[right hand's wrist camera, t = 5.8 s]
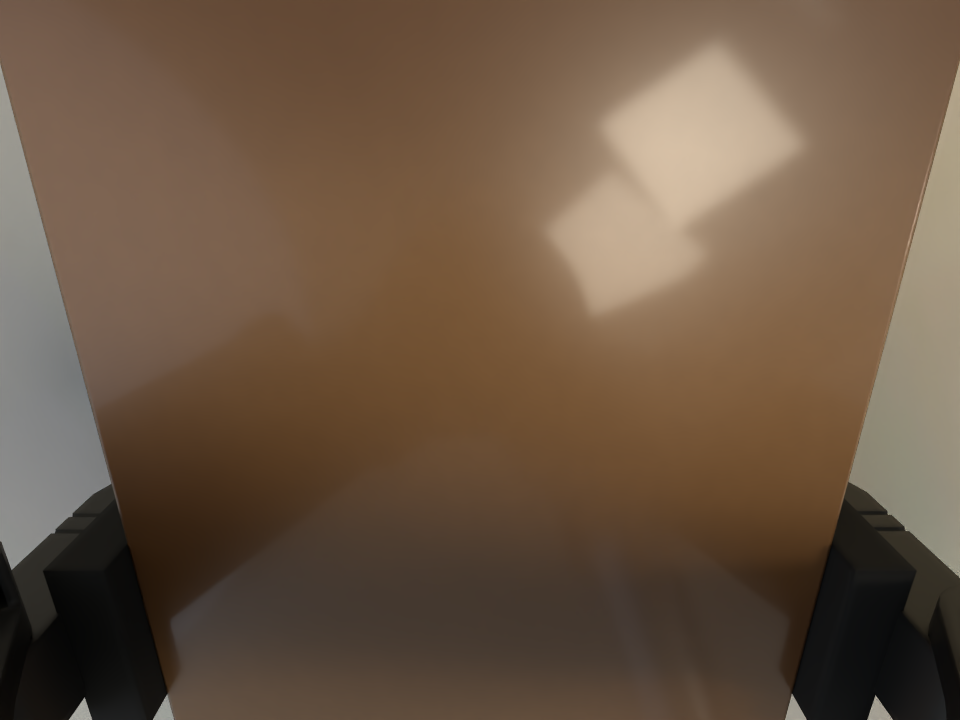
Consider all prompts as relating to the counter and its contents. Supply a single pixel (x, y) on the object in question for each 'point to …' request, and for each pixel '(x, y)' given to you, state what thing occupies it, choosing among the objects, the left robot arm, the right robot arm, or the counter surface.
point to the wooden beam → (479, 331)
